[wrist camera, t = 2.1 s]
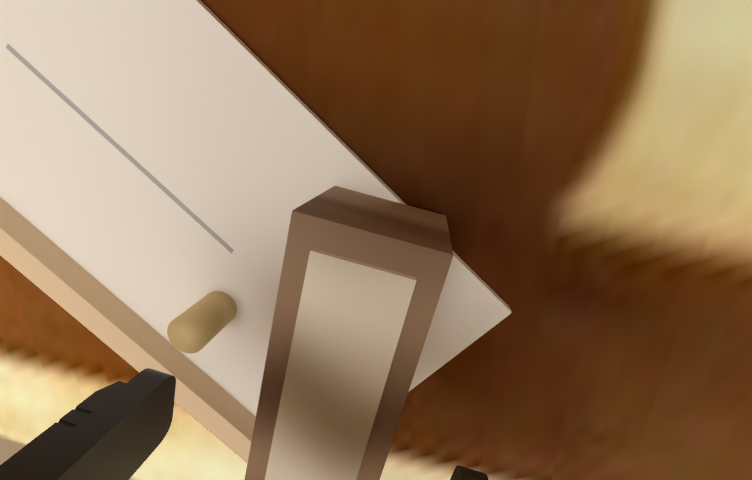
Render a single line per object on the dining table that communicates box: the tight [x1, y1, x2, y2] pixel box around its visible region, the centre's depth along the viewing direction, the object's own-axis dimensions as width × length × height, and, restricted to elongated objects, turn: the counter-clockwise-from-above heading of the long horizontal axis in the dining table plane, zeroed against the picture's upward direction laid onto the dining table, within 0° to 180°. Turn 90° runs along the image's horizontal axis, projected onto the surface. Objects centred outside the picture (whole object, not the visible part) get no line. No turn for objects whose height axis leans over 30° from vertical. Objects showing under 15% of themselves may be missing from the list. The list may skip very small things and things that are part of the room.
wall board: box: [0, 0, 512, 463], centre depth 15 cm, size 14×24×3 cm, turn 46°
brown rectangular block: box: [245, 186, 453, 480], centre depth 14 cm, size 11×4×5 cm, turn 166°
